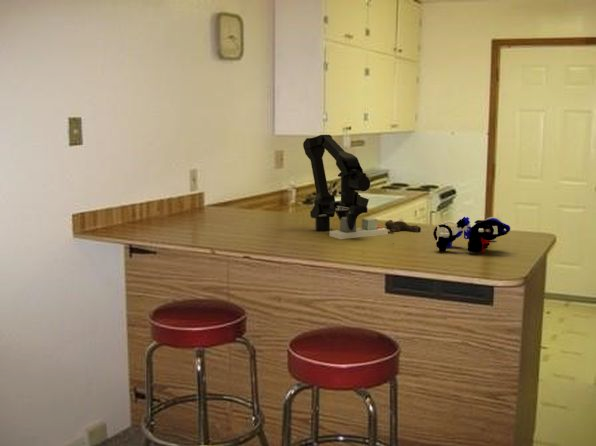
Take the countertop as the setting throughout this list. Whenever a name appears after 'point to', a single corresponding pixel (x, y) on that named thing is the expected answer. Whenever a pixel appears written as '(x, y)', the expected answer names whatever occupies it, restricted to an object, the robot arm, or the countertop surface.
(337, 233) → the power strip
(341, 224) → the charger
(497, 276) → the countertop surface
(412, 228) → the faucet
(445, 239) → the robot toy
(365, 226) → the lamp plug
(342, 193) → the robot arm
